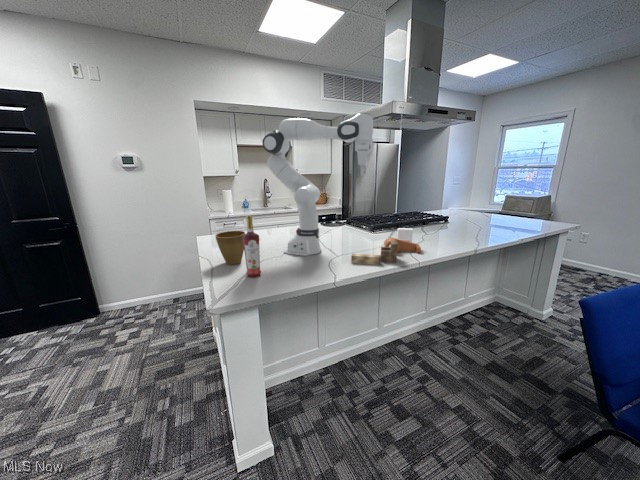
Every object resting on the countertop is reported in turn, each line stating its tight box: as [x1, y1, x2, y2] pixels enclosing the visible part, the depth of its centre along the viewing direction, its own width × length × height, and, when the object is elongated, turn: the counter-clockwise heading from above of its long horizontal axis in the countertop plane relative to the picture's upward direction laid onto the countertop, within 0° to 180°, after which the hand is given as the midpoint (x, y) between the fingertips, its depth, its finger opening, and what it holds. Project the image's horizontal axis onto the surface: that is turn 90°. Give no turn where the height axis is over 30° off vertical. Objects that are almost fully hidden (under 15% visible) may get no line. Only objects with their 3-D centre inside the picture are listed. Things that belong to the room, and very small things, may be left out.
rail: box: [350, 253, 382, 266], centre depth 137 cm, size 15×4×4 cm, turn 77°
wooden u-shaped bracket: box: [380, 240, 398, 264], centre depth 140 cm, size 8×8×10 cm
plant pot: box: [215, 230, 246, 266], centre depth 139 cm, size 15×15×16 cm
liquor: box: [242, 215, 262, 278], centre depth 120 cm, size 7×7×28 cm
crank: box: [383, 236, 422, 254], centre depth 154 cm, size 20×8×8 cm, turn 82°
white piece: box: [396, 227, 414, 243], centre depth 162 cm, size 9×9×12 cm
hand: (363, 174), depth 139 cm, fingers open, 8 cm apart
